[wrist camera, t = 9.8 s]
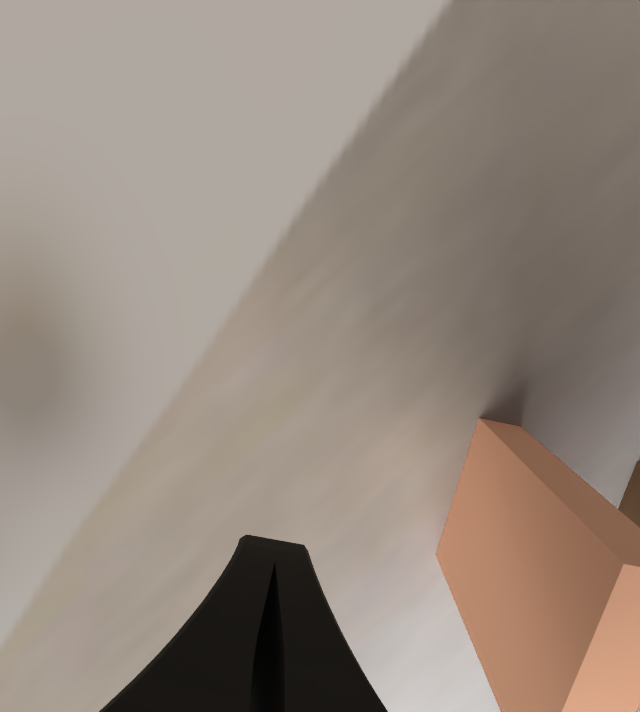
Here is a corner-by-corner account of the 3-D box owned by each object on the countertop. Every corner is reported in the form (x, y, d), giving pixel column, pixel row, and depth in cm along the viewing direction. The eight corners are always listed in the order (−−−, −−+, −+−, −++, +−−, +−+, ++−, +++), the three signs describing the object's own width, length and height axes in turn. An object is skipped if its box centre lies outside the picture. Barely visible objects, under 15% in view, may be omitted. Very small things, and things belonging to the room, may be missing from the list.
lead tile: (520, 426, 15) (698, 578, 8) (475, 562, 16) (598, 794, 9) (479, 417, 15) (624, 563, 8) (435, 554, 16) (531, 784, 9)
